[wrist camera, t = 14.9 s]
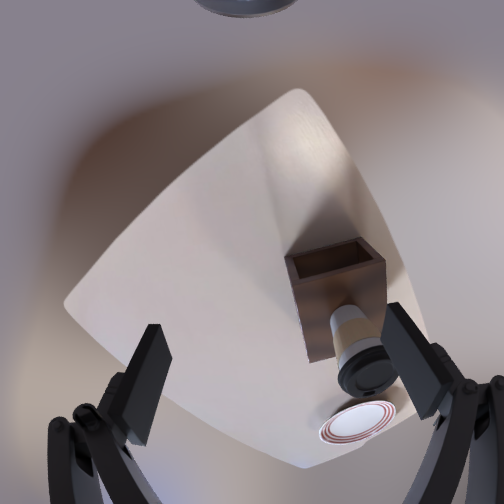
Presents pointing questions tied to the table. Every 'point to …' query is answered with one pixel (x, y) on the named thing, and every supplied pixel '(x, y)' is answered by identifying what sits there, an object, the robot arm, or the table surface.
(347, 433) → the dinner plate
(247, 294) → the table surface
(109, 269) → the table surface
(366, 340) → the coffee cup
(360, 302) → the wooden cubby box
